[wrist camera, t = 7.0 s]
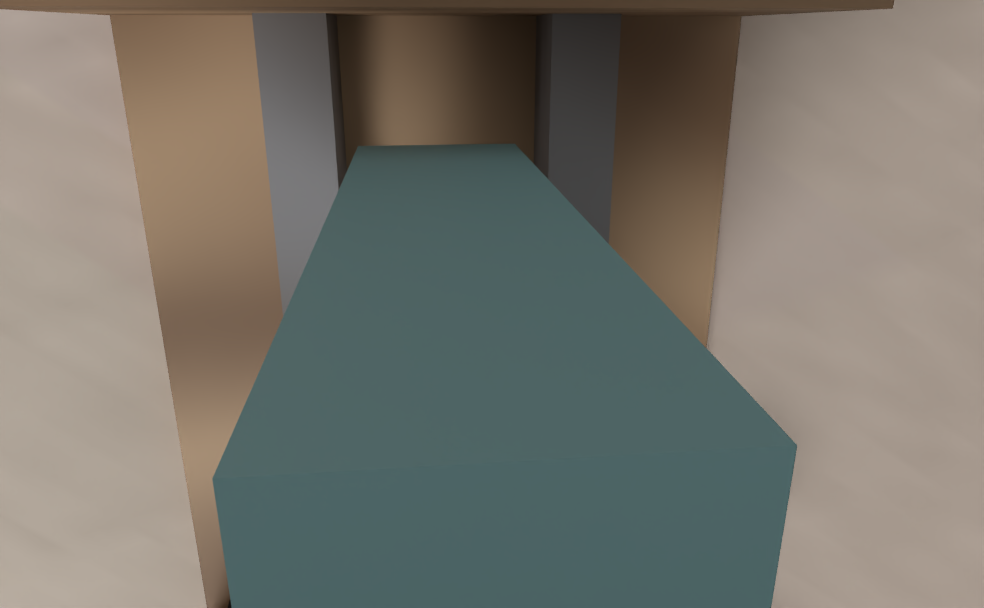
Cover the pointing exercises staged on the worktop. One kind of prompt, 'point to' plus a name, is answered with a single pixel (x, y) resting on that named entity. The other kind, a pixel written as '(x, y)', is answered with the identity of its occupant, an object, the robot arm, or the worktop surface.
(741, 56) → the worktop surface
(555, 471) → the door panel
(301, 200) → the cabinet track
